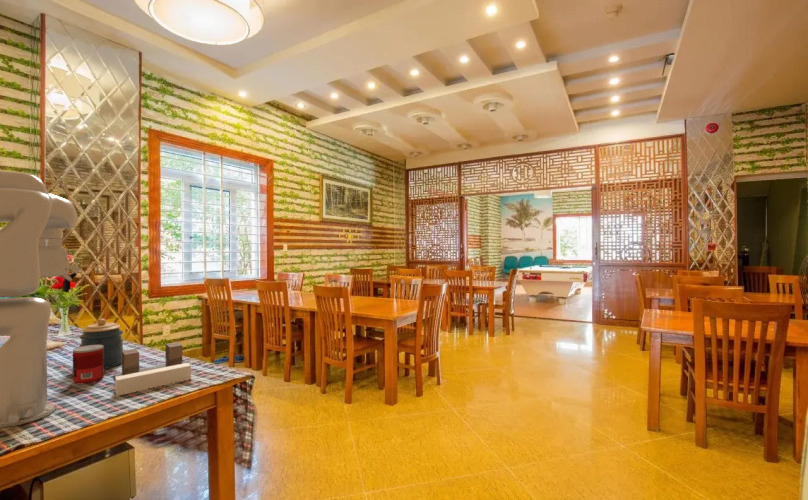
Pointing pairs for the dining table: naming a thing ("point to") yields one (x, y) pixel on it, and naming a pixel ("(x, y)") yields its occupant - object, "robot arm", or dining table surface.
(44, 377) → the robot arm
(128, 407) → the dining table surface
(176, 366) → the shelf board
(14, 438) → the dining table surface
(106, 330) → the canister
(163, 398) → the dining table surface
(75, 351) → the canned food
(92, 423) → the dining table surface
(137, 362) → the post stand
